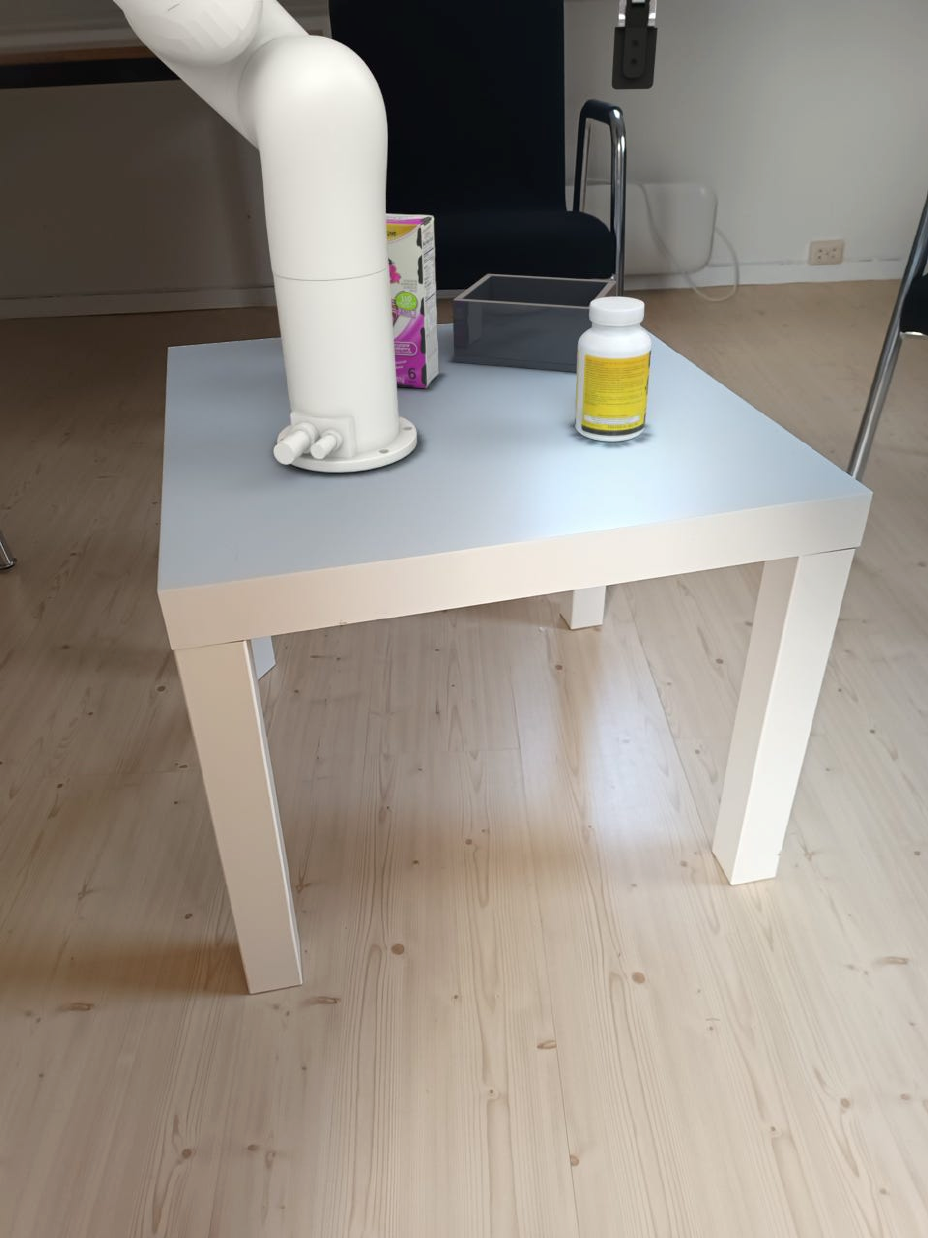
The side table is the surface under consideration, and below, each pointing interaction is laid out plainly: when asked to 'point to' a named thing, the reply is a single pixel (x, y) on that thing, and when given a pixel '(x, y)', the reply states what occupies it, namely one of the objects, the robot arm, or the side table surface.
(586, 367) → the pill bottle
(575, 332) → the open box
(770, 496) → the side table surface
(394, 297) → the candy bar box
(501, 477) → the side table surface
